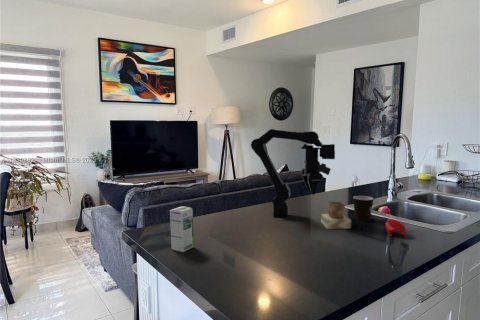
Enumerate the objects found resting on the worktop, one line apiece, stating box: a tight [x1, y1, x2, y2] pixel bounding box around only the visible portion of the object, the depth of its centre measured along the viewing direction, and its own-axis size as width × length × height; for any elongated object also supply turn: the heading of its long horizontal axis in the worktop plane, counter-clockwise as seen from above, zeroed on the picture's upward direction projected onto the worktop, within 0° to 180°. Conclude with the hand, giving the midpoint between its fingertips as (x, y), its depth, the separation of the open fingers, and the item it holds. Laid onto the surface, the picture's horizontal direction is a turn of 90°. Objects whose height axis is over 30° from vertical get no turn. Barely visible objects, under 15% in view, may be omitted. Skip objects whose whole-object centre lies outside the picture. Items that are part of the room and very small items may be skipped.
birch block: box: [320, 213, 352, 230], centre depth 140 cm, size 10×10×4 cm
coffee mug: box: [352, 195, 375, 223], centre depth 148 cm, size 12×9×10 cm
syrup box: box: [169, 205, 195, 253], centre depth 115 cm, size 6×6×14 cm
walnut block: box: [328, 201, 345, 219], centre depth 140 cm, size 5×5×6 cm
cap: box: [384, 219, 407, 237], centre depth 127 cm, size 8×6×6 cm
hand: (311, 192), depth 151 cm, fingers open, 9 cm apart
